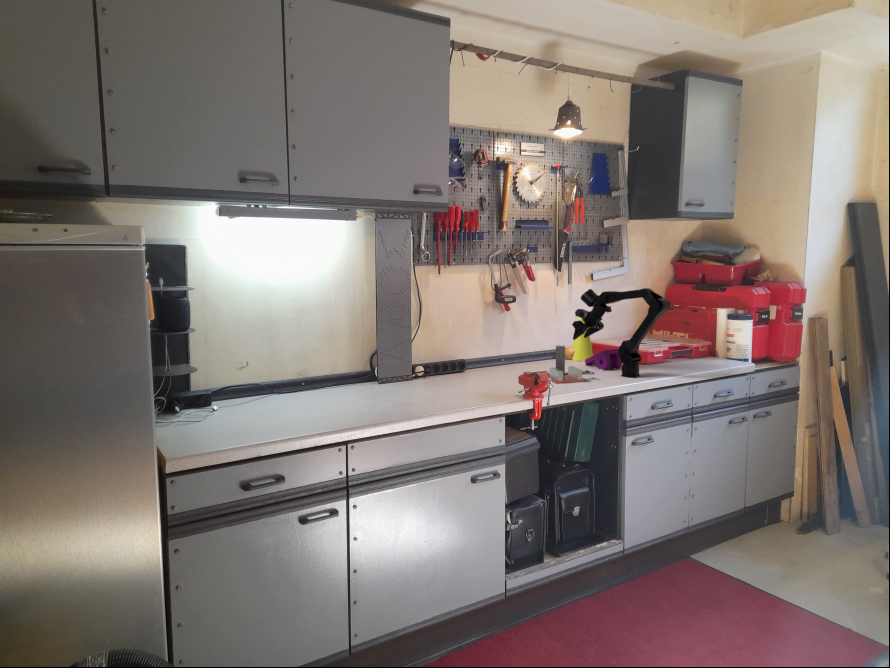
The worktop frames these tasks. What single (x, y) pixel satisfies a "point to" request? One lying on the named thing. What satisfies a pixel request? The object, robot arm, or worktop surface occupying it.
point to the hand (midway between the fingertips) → (579, 338)
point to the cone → (582, 347)
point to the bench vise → (572, 376)
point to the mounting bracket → (605, 359)
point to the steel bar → (560, 358)
